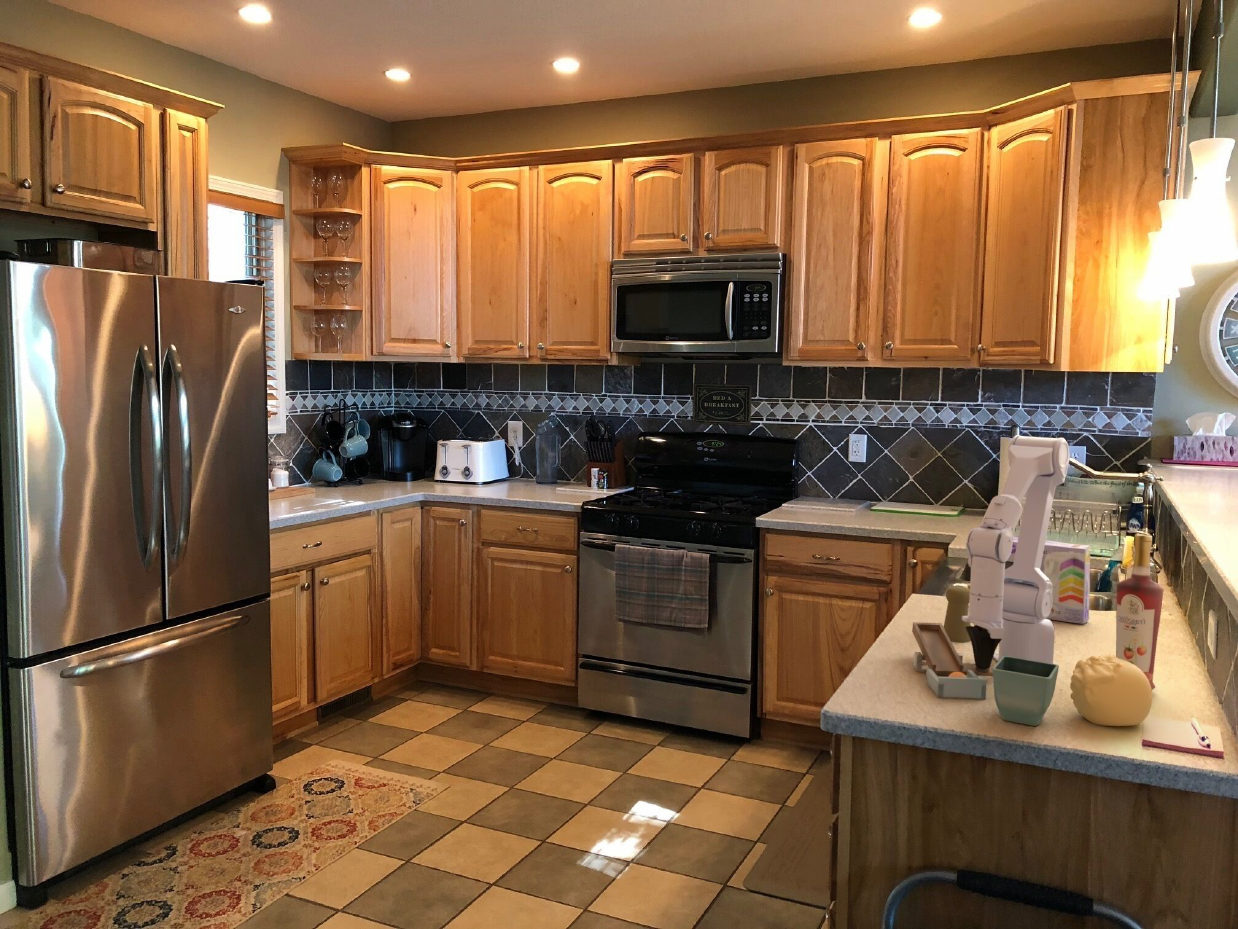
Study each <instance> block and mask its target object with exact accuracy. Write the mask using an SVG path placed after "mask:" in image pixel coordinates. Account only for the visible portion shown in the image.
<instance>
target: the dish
mask: <svg viewBox="0 0 1238 929" xmlns="http://www.w3.org/2000/svg"><path fill="white" fill-rule="evenodd" d="M925 674H926V675H925V683H926V684H927V685H928V687H929V688H930V689H931V690H932V692H933V691H934V692H933V693H934V694H935V695H936V697H937V696H938V697H937V698H938V699H959V698H960V699H964V700H965V699H966V700H986V698H987V683H988V682H987V680H988V679H987V678H986V677H980V676H977V675H976V674H975V673H974V672H973V671H972V670H967V676H966V677H967V678H965V677H948V676H939V675H936V674H935V673H934V672H933V670H932V669H927V672H925Z"/></svg>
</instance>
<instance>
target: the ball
mask: <svg viewBox="0 0 1238 929" xmlns="http://www.w3.org/2000/svg"><path fill="white" fill-rule="evenodd" d="M947 677H965V678H967V676H965V675H964V674H963V673H961V672H953V673H951V674H950V675H947Z"/></svg>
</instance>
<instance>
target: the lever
mask: <svg viewBox="0 0 1238 929" xmlns="http://www.w3.org/2000/svg"><path fill="white" fill-rule="evenodd" d="M912 635H913V637H914V639H915V641H916V643H917V645H918V647H919V650H920V652H921V654H922V655H923V656H922V662H923V661H925V663H926V666H928V667H929V669H932V670H933V672H934V673H935V674H936V675H937V676H939V675H941V676H943V675H944V676H949V675H950V674H951V673H953V672H961V673H963V674H964V675H965V676H966V677H967V670H972V671H973V672H974V673H975V674H976V675H977V676H978V677H993V671H992V668H993V666H992V665H991V666H990V668H989V669H987V668H978V667H977V666H976V665H975V663H969V662H968V663H967V662H966V663H965V662H963V661H961V659H960V658H959V656H958V654H957V653H958V651H957V650H956V648H955V647H954V645H953V643H952V642H953V641H951V640H950V638H949V637H948V635H947V633H946V631H945V629H944V624H943V623H942V622H917V621H916V622H915V621H914V622H912Z"/></svg>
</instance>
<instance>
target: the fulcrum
mask: <svg viewBox="0 0 1238 929" xmlns="http://www.w3.org/2000/svg"><path fill="white" fill-rule="evenodd" d="M957 654H958V656H959V658H960V659H961V661H962V662H964V661H963V658H964V657H963V654H961V653H959V652H957ZM922 656H923V654H922V652H921V651H914V662H913V670H915V671H916V672H917V673H926V672H927V669H929V667H928V665H923V660H922Z"/></svg>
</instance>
